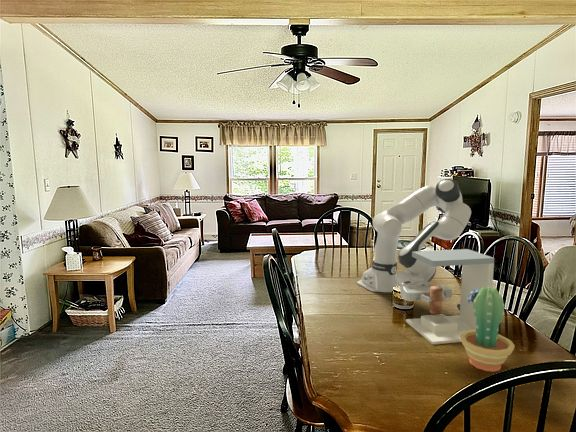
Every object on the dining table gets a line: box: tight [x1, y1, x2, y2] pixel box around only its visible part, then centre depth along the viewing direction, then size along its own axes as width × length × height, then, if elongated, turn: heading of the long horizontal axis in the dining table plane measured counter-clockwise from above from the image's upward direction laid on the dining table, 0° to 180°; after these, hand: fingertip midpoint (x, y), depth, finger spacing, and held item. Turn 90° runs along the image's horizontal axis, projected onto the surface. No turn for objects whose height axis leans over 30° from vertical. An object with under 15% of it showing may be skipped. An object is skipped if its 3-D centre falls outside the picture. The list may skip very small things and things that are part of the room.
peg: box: [429, 286, 443, 315], centre depth 146 cm, size 4×4×10 cm
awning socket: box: [405, 248, 495, 345], centre depth 141 cm, size 20×24×30 cm
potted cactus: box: [460, 286, 516, 372], centre depth 117 cm, size 15×15×25 cm
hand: (437, 299), depth 145 cm, fingers closed on peg, 4 cm apart
